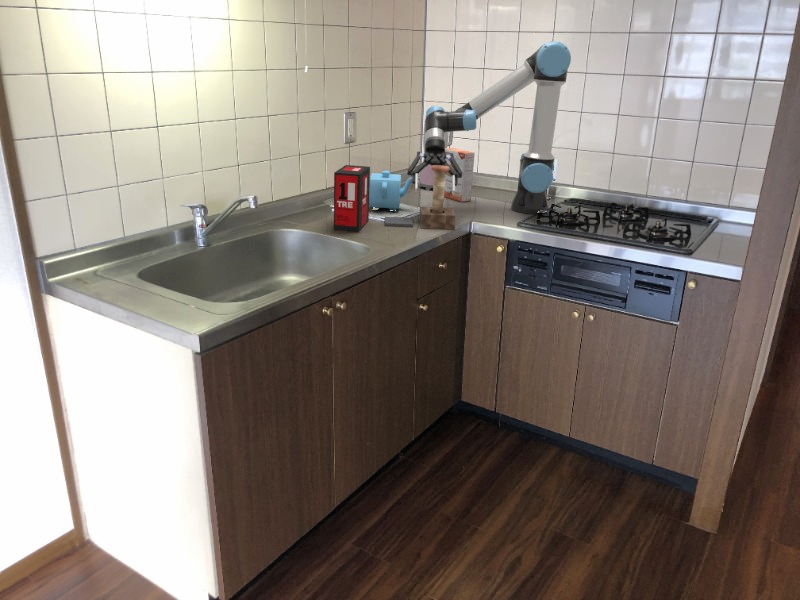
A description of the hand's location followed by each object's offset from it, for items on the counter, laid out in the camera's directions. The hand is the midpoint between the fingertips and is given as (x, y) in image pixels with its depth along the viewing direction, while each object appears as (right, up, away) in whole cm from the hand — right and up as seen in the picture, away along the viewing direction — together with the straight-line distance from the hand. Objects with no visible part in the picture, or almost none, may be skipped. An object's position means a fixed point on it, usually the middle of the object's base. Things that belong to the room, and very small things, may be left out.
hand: (434, 191), depth 238 cm
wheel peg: (+1, -12, +3) cm, 12 cm away
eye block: (+1, -12, +3) cm, 12 cm away
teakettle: (-19, -3, +25) cm, 31 cm away
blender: (+4, +13, +68) cm, 69 cm away
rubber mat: (-13, -11, +3) cm, 17 cm away
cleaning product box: (-30, -13, -4) cm, 33 cm away
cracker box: (+11, +5, +48) cm, 49 cm away
